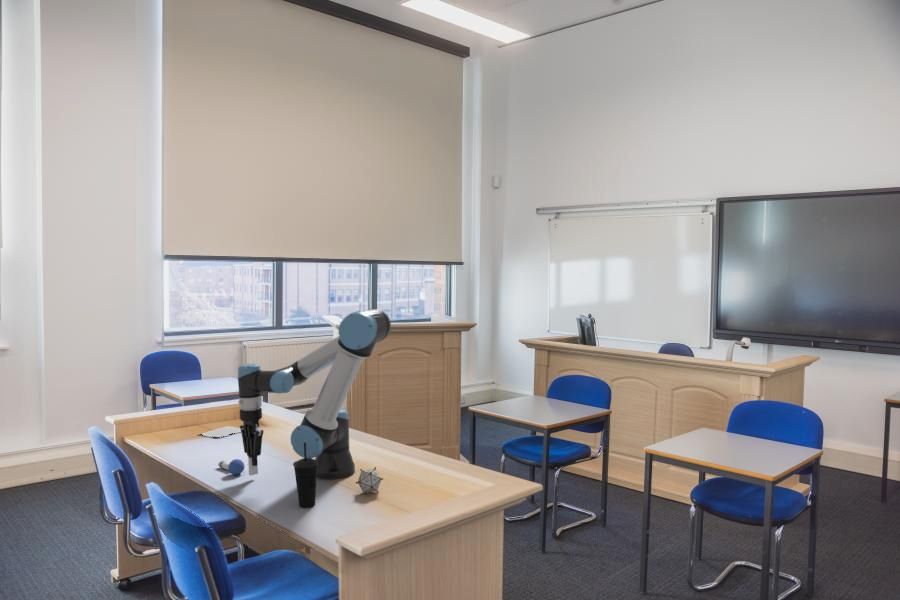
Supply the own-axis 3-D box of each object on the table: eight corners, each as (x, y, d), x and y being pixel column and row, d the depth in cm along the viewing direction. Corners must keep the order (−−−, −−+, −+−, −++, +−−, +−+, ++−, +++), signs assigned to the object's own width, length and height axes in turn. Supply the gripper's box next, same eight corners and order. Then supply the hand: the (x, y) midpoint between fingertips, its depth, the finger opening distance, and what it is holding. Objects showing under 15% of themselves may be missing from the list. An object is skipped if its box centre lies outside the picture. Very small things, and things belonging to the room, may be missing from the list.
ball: (239, 463, 246) (248, 470, 243) (227, 472, 243) (236, 480, 240) (236, 453, 243) (246, 461, 240) (223, 463, 239) (233, 471, 237)
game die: (373, 505, 219) (376, 487, 212) (350, 495, 220) (352, 477, 214) (385, 484, 225) (388, 466, 219) (362, 474, 227) (365, 456, 221)
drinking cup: (321, 500, 214) (319, 438, 212) (317, 509, 206) (315, 445, 205) (297, 501, 213) (294, 439, 212) (292, 510, 206) (290, 446, 205)
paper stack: (262, 433, 299) (262, 432, 299) (216, 447, 278) (216, 446, 278) (227, 427, 312) (227, 425, 311) (181, 440, 290) (181, 439, 290)
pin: (232, 463, 244) (220, 459, 250) (228, 469, 243) (216, 465, 249) (237, 467, 246) (225, 462, 252) (233, 473, 245) (221, 468, 250)
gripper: (231, 407, 236) (234, 472, 238) (249, 413, 227) (252, 481, 228) (251, 403, 241) (254, 467, 243) (269, 409, 232) (272, 475, 233)
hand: (253, 474), depth 236 cm, fingers closed
